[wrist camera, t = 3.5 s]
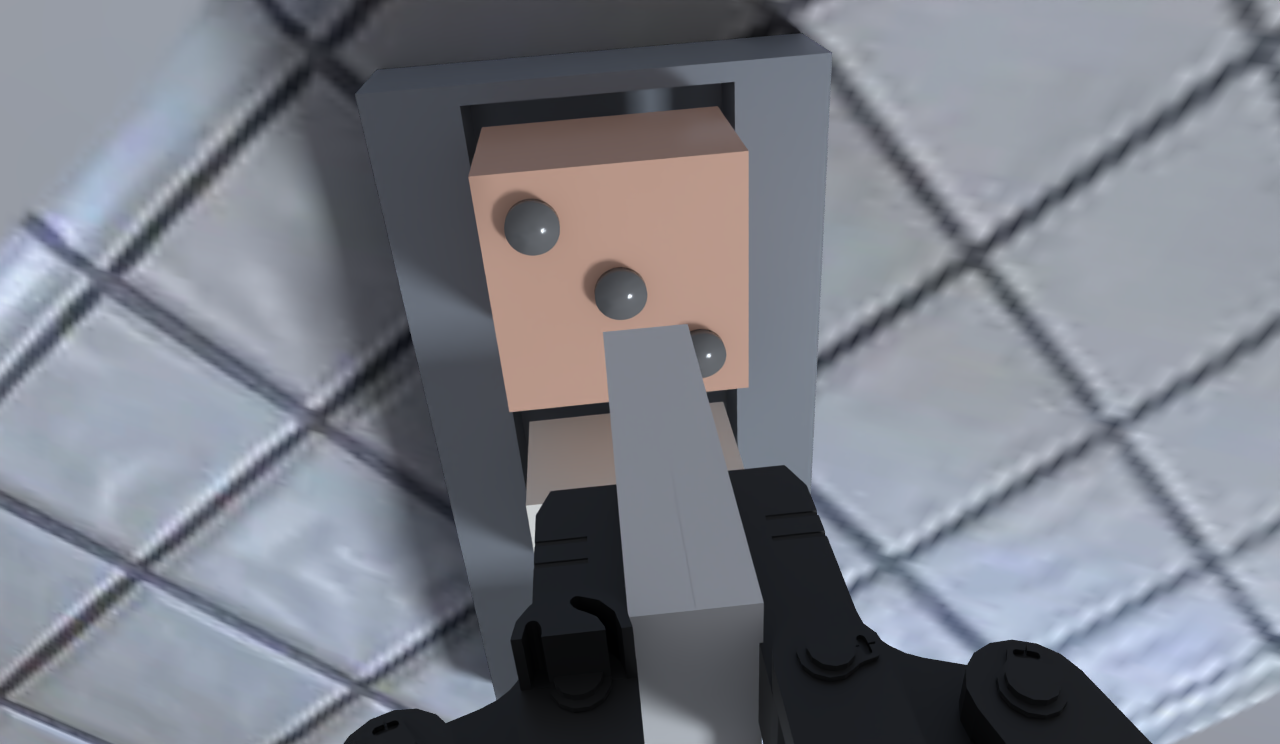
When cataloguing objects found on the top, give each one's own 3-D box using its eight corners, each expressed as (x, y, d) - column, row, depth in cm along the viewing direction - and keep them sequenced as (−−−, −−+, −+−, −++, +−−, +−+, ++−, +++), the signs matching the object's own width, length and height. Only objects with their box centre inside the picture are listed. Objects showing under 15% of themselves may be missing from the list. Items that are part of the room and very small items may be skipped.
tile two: (552, 565, 29) (552, 666, 25) (529, 421, 26) (525, 512, 22) (725, 546, 29) (750, 644, 26) (722, 401, 26) (750, 488, 23)
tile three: (515, 335, 24) (509, 418, 21) (481, 127, 21) (466, 181, 18) (721, 315, 25) (750, 393, 21) (717, 106, 22) (751, 154, 18)
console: (511, 689, 37) (508, 750, 34) (376, 69, 24) (354, 94, 21) (783, 657, 37) (800, 715, 35) (802, 33, 24) (832, 52, 21)
